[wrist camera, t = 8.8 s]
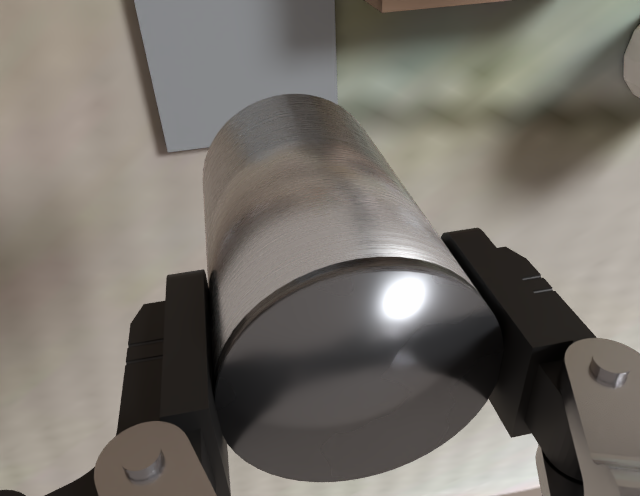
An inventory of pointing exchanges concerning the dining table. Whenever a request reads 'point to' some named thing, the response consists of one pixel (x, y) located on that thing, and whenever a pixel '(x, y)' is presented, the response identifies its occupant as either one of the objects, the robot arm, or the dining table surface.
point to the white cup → (633, 63)
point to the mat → (233, 59)
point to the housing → (420, 4)
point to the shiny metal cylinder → (333, 301)
